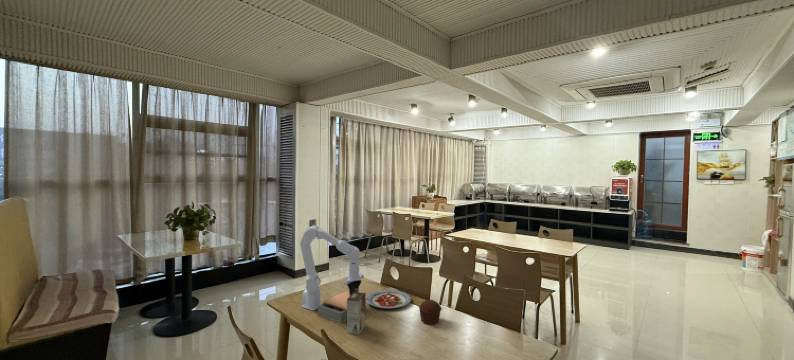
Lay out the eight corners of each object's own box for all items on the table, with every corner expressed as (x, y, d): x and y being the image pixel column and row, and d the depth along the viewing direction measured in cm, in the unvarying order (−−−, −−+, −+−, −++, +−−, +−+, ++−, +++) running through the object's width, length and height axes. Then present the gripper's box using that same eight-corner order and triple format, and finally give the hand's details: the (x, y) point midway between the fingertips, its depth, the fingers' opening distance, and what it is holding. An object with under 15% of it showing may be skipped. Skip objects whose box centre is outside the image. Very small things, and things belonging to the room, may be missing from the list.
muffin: (417, 316, 172) (417, 297, 172) (438, 315, 173) (438, 296, 173) (421, 327, 160) (421, 306, 160) (443, 326, 161) (444, 305, 161)
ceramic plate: (356, 301, 191) (356, 296, 191) (390, 290, 209) (390, 285, 209) (385, 316, 172) (385, 310, 172) (420, 302, 190) (420, 297, 190)
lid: (323, 302, 176) (323, 293, 175) (344, 292, 190) (344, 284, 189) (347, 310, 167) (347, 300, 166) (367, 299, 180) (367, 290, 180)
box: (318, 315, 172) (318, 305, 172) (339, 304, 186) (339, 295, 185) (341, 323, 164) (341, 313, 163) (361, 311, 177) (361, 302, 177)
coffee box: (353, 323, 163) (353, 291, 163) (365, 325, 162) (366, 292, 161) (346, 333, 154) (346, 298, 154) (360, 334, 153) (360, 300, 152)
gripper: (350, 274, 175) (350, 300, 175) (367, 267, 187) (367, 291, 187) (340, 272, 179) (340, 297, 179) (358, 265, 191) (358, 288, 191)
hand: (353, 294), depth 183 cm, fingers closed on lid, 2 cm apart
